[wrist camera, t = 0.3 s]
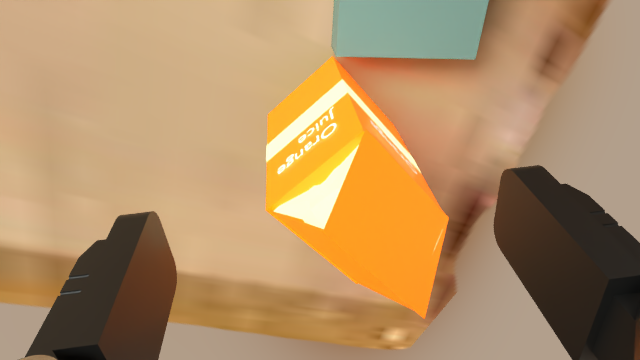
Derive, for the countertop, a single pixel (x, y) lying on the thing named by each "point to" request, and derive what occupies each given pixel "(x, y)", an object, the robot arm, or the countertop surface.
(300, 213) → the orange juice
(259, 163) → the countertop surface
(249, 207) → the countertop surface
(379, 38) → the stand
